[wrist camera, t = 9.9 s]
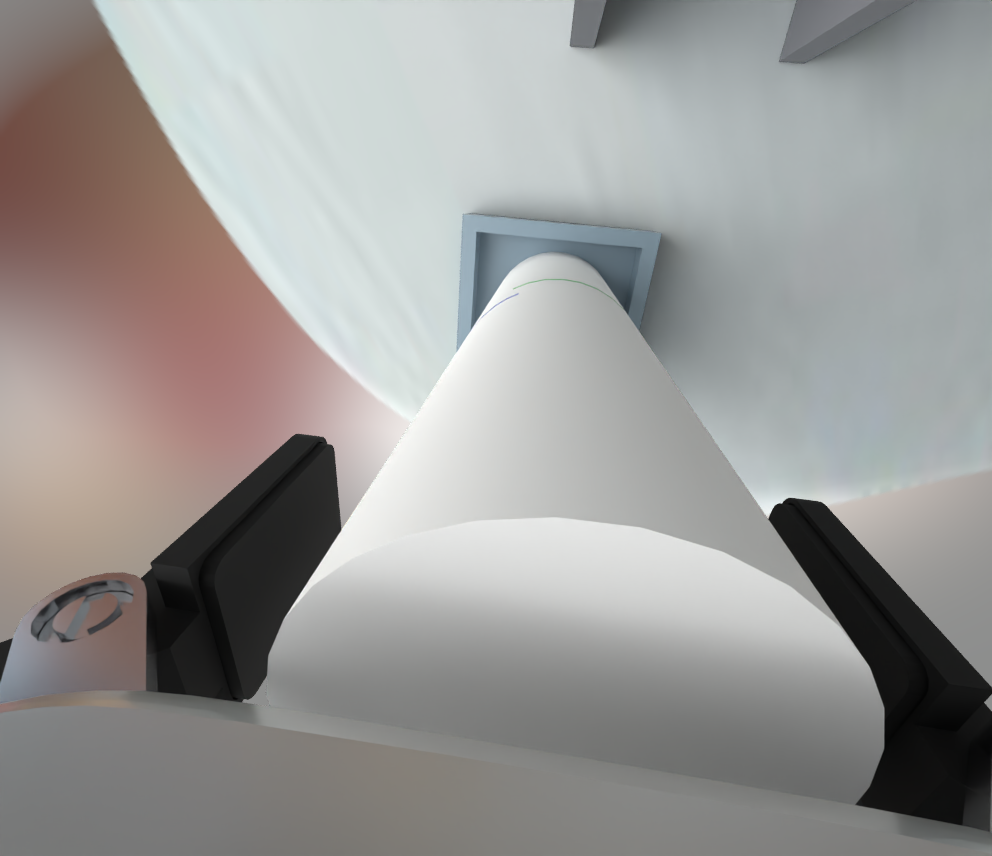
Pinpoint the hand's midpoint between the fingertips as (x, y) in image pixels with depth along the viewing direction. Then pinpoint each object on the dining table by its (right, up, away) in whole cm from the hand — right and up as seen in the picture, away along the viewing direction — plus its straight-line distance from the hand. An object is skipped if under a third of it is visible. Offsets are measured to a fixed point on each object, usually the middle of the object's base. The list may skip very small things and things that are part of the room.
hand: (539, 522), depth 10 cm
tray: (+2, +9, +19) cm, 21 cm away
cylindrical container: (+3, +9, +18) cm, 21 cm away
